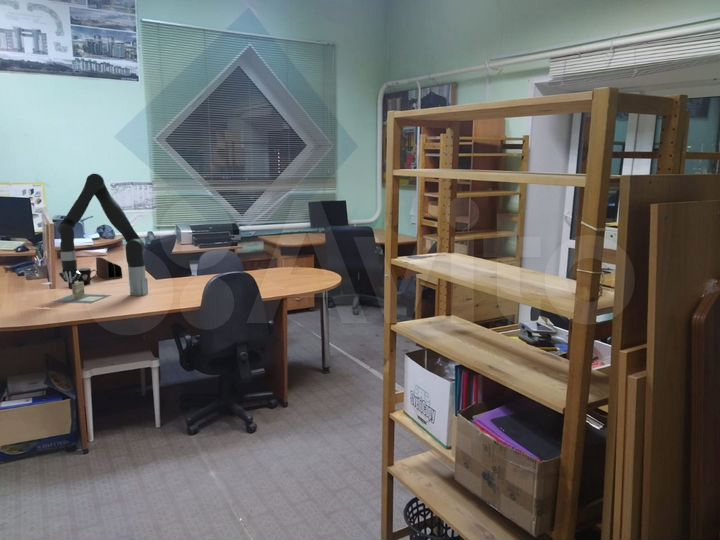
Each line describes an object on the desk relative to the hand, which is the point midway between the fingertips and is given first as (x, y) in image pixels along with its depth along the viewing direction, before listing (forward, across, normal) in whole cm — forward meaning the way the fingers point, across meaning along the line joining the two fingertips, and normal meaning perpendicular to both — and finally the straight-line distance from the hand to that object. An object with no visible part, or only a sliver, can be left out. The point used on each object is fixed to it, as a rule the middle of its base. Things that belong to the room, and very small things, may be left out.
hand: (71, 288), depth 306 cm
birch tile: (+5, -4, 0) cm, 7 cm away
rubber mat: (+6, -6, 0) cm, 9 cm away
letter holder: (+7, +18, -64) cm, 67 cm away
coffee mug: (+6, +18, -40) cm, 44 cm away
